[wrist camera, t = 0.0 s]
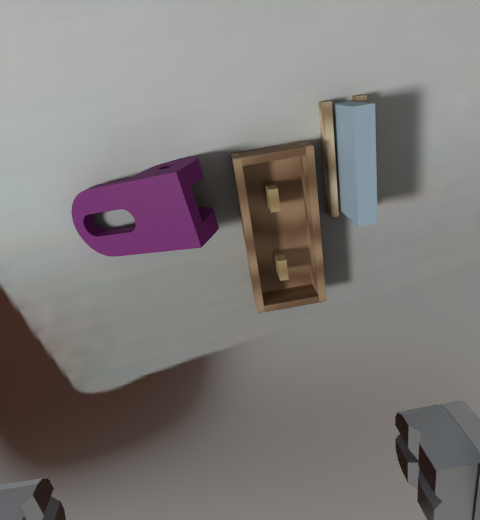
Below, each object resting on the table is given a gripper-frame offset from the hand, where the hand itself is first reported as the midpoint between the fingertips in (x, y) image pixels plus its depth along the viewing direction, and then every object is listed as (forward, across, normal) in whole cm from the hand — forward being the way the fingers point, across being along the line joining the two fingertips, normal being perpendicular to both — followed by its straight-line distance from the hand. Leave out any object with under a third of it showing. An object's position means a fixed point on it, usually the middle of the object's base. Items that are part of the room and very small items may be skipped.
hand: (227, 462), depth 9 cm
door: (+48, -18, +3) cm, 51 cm away
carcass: (+48, -8, +11) cm, 50 cm away
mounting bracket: (+48, +10, +5) cm, 50 cm away
